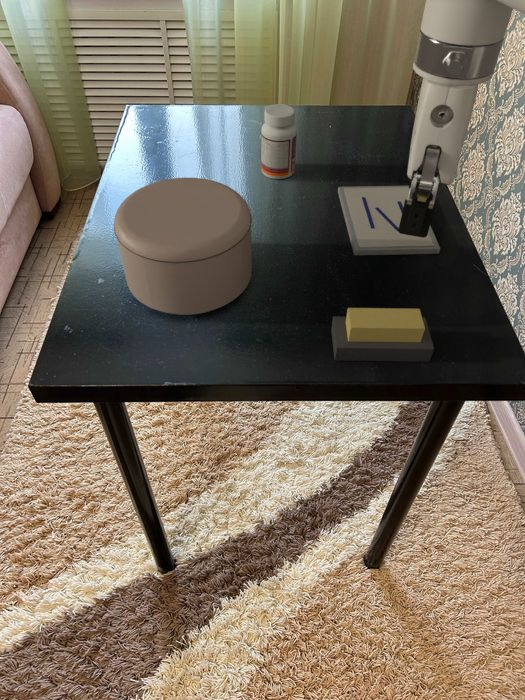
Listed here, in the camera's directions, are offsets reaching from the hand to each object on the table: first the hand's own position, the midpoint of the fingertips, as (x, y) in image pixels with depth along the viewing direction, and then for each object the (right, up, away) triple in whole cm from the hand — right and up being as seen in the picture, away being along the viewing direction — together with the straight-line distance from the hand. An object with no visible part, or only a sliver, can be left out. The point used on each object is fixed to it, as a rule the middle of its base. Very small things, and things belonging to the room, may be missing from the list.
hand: (416, 210), depth 63 cm
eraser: (-3, -16, +6) cm, 17 cm away
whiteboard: (+2, +5, +25) cm, 26 cm away
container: (-29, -6, +15) cm, 33 cm away
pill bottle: (-15, +16, +35) cm, 42 cm away
